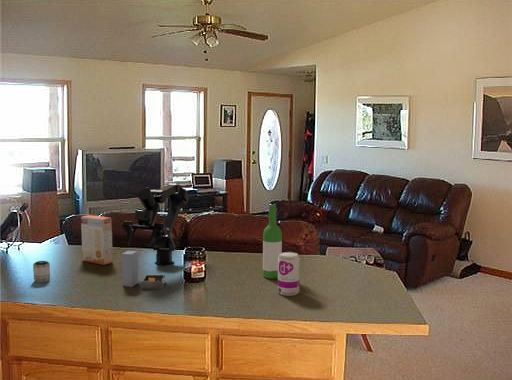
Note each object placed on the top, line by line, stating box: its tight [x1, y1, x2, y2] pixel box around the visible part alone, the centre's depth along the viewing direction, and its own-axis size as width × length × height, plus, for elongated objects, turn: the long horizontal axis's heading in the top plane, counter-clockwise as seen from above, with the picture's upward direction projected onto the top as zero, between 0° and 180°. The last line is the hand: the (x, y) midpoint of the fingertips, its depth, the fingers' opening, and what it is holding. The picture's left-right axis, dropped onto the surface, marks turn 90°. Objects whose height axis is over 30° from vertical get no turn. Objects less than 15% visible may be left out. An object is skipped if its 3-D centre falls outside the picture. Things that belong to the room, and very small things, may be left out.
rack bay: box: [140, 274, 166, 290], centre depth 225 cm, size 9×8×4 cm
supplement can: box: [277, 251, 301, 297], centre depth 216 cm, size 8×8×15 cm
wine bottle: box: [262, 204, 283, 280], centre depth 236 cm, size 8×8×30 cm
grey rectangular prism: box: [121, 250, 139, 288], centre depth 226 cm, size 5×4×13 cm
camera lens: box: [32, 260, 51, 284], centre depth 230 cm, size 6×6×8 cm
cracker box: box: [80, 214, 114, 266], centre depth 259 cm, size 14×6×21 cm, turn 58°
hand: (138, 245), depth 233 cm, fingers open, 9 cm apart
